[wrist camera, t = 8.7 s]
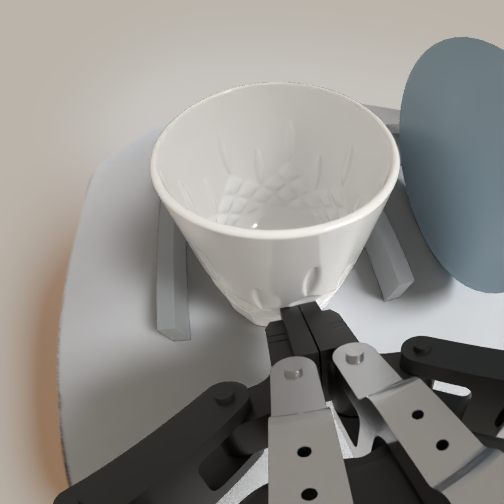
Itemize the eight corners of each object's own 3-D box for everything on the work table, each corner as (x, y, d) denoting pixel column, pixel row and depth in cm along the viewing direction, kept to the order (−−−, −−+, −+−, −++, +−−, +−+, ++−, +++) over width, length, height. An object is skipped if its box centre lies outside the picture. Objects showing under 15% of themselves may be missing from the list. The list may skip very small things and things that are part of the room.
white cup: (218, 225, 19) (176, 93, 10) (334, 218, 18) (357, 82, 10) (211, 341, 15) (119, 247, 6) (353, 334, 14) (440, 230, 6)
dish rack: (506, 303, 13) (628, 179, 1) (179, 395, 13) (-93, 300, 1) (426, 154, 21) (464, 21, 9) (173, 188, 21) (108, 23, 9)
